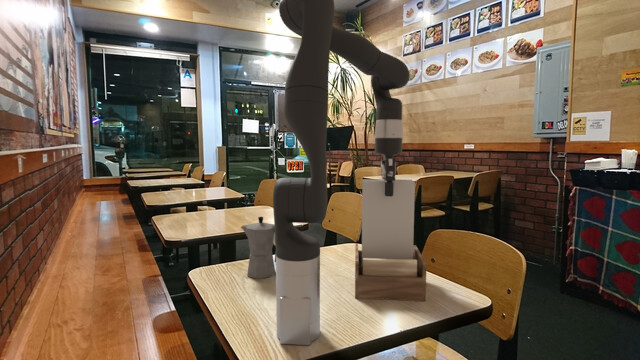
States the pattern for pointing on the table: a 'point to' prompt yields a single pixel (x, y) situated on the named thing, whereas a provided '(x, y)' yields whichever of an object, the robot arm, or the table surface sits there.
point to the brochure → (387, 220)
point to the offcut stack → (390, 267)
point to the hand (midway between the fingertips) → (387, 194)
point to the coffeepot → (260, 249)
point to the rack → (391, 282)
